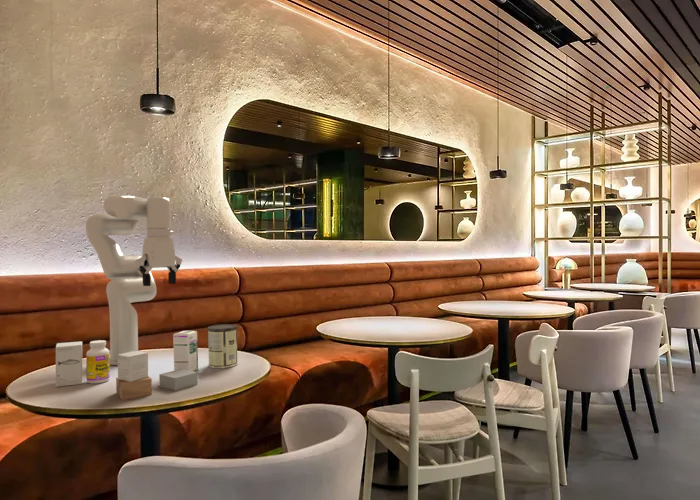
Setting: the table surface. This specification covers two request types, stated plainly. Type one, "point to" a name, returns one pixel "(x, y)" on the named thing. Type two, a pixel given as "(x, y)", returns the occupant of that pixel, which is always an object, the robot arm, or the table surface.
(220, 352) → the coffee can
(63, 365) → the supplement box
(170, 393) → the table surface
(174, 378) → the grey block
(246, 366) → the table surface
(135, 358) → the product box
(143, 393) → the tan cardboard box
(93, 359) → the supplement bottle
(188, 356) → the syrup box
